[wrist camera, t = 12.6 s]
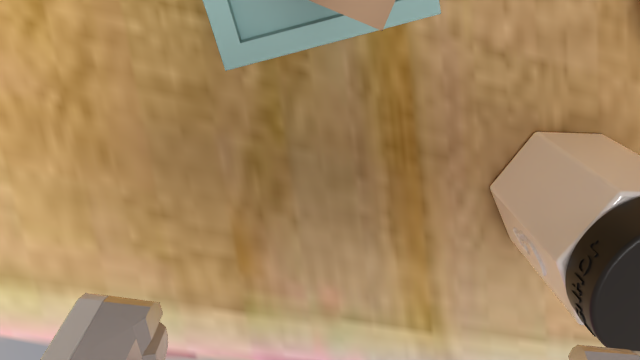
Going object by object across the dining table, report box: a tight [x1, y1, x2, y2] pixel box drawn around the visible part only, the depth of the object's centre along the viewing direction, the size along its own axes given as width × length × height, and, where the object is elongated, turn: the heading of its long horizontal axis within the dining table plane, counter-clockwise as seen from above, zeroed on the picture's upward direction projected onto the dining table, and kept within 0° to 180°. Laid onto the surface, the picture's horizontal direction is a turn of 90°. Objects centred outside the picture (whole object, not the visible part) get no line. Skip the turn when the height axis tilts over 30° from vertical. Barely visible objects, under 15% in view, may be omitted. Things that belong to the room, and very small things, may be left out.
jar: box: [490, 132, 640, 351], centre depth 30 cm, size 9×8×12 cm
